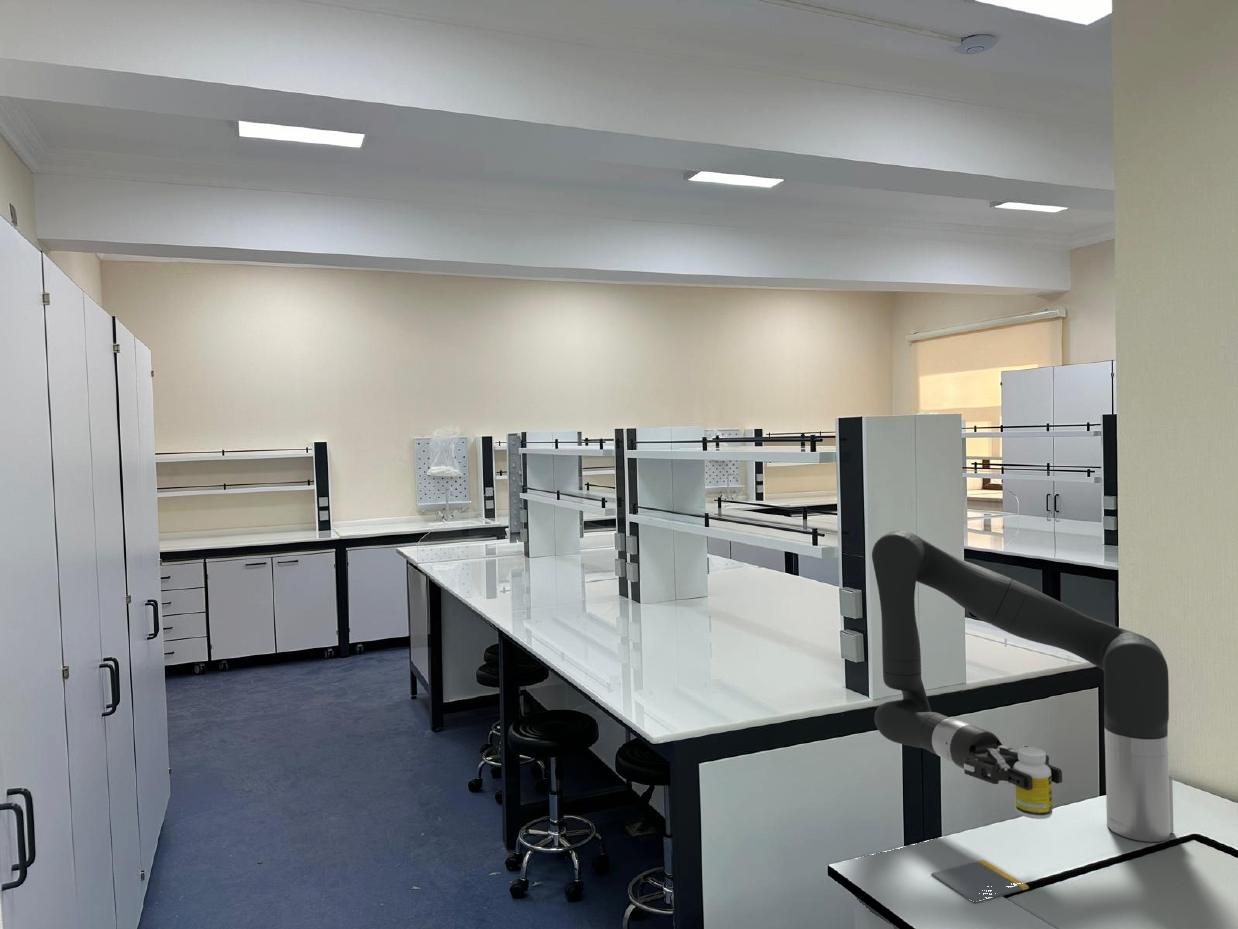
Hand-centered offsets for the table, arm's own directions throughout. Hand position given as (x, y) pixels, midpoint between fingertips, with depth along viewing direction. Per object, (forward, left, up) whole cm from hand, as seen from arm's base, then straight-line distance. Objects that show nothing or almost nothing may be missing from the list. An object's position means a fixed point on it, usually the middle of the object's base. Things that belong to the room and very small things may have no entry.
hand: (1045, 780), depth 129 cm
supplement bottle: (0, -3, -6) cm, 7 cm away
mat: (+12, -3, -15) cm, 19 cm away
